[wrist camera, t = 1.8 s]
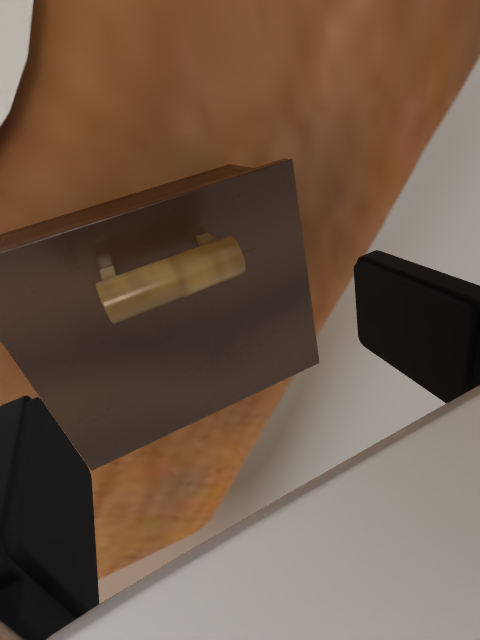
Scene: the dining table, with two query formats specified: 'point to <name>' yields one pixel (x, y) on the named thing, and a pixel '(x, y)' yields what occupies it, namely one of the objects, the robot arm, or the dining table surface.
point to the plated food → (13, 49)
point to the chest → (117, 204)
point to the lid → (162, 310)
